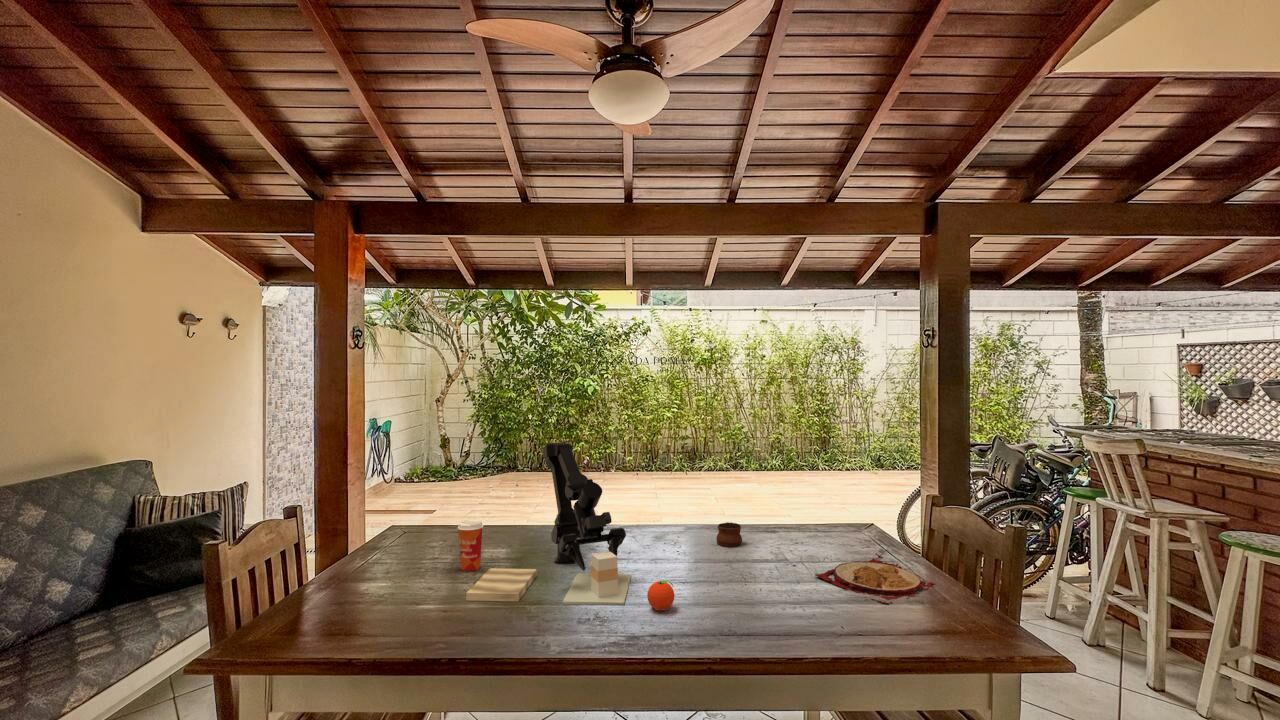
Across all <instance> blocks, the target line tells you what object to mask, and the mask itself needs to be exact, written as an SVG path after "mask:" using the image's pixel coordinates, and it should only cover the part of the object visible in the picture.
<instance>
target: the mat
mask: <svg viewBox="0 0 1280 720" xmlns="http://www.w3.org/2000/svg"><path fill="white" fill-rule="evenodd" d="M631 579H632V574H631V573H630V574H629V573H618V594H617V595H611V596H605V597H599V598H598V597H597V596H596V595H595V594H594V593H593V592H592V591H591V573H585V572H584V573H576V576H574V579H573V581H572V582H571V585H570V586H569V589H568V590H567V593H566V594H565V596H564V598H563V600H562V605H597V606H598V605H601V606H602V605H603V606H604V605H605V606H606V605H607V606H608V605H610V606H612V605H613V606H625V603H626V600H627V599H626V598H627V594H628V590H629V587H630V582H631Z"/></svg>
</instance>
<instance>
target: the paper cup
mask: <svg viewBox="0 0 1280 720" xmlns="http://www.w3.org/2000/svg"><path fill="white" fill-rule="evenodd" d="M483 528H484V524H483V523H482V520H477V519H469V520H464V521H461V522H459V523H458V526H457V530H458V540H459V556H460V557H459V558H460V569H461V571H462V572H463V571H464V572H473V571H477V570H480V568H481V560H482V559H481V558H482V557H481V556H482V541H483V538H482V537H483Z"/></svg>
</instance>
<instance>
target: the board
mask: <svg viewBox="0 0 1280 720" xmlns="http://www.w3.org/2000/svg"><path fill="white" fill-rule="evenodd" d="M537 574H538V573H537V569H536V568H495V567H494V568H492V567H491V568H489V569H488V570H487V571H485V573H484V574H483V575H482V576H481V577H480V578H479V580H478V581H477V582H475V584H473V586H472V587H471V588H470V589H469V590H467V592H466V595H465V600H466V602H467V601H470V602H471V601H474V602H519V601H520V600H521V599H522V597H524V595H525V593H526V592H527V590H528V589H529V587H530V586H531V584H532V583H533V582H534V580H535V579H536V578H537Z"/></svg>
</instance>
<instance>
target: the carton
mask: <svg viewBox="0 0 1280 720" xmlns="http://www.w3.org/2000/svg"><path fill="white" fill-rule="evenodd" d="M590 564H591V565H590V574H591V591H592V592H593V593H594V594H595V595H596V596H597V597H598V598H599V597H605V596H611V595H617V594H618V574H619V567H618V555H617V556H616V555H614V554H613V553H612V552H610V551H609V550H608V551H602V552H596V553H591V554H590Z"/></svg>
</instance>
